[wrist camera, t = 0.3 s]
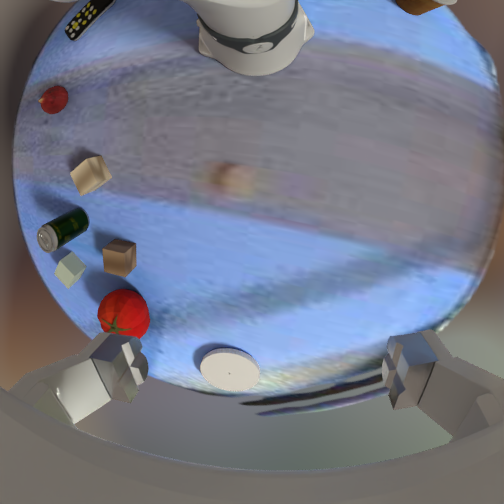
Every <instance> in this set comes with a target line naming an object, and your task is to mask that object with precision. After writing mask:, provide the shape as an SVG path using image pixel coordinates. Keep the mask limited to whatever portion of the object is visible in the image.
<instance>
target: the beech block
mask: <svg viewBox="0 0 504 504" xmlns="http://www.w3.org/2000/svg"><path fill="white" fill-rule="evenodd" d="M70 174H71V176H72V179H73V181H74V183H75V185H76V187H77V189H78V191H79V193H80V195H81V196H82V195H84V194H87V193H89V192H92V191H94V190H96V189H98V188H99V187H100V186H101V185H103V184H104V183H105V182H107V181H108V180H109V179H111V178H112V176H111V174H110V172H109V170H108V168H107V166H106V164H105V162H104V160H103V158H102V156H97V157H92V158H88V159H85V160H84V161H83V162H82V163H81V164H80V165H79V166H78V167H76V168H75V169H74V170H73V171H72V172H71V173H70Z"/></svg>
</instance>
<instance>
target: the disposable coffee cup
mask: <svg viewBox="0 0 504 504" xmlns="http://www.w3.org/2000/svg"><path fill="white" fill-rule="evenodd" d="M396 2H397V4H398V5H399V6H400V7H401V8H402V9H403V10H404V11H406V12H407V13H409V14H412V15H421V14H423V13H426V12H428V11H430V10H433V9H435V8H438V7H441V6H443V5H451V4H454V3H456V2H457V0H396Z"/></svg>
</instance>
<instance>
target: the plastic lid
mask: <svg viewBox="0 0 504 504" xmlns="http://www.w3.org/2000/svg"><path fill="white" fill-rule="evenodd" d="M200 371H201V373H202V376H203V377H204V378H205V380H206V381H208V382H209V383H210V384H212V385H214V386H216V387H218V388H220V389H223V390H228V391H243V390H248V389H250V388H251V387H253V386H255V385H256V383H257V382H258V381H259V378H260V367H259V365H258V363H257V361H256V360H254V358H253V357H251V356H250V355H249V354H246V353H244V352H242V351H239V350H236V349H230V348H229V349H228V348H223V349H222V348H221V349H216V350H213V351H211V352H208V353H207V354H206V355H205V356H204V357H203V359H202V362H201V365H200Z"/></svg>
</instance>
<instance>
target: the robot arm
mask: <svg viewBox="0 0 504 504" xmlns="http://www.w3.org/2000/svg"><path fill="white" fill-rule="evenodd" d="M50 1H56V2H65V3H66V2H74V1H77V0H50ZM180 1H183V2H185V3H187V4H188V5H189V6H190V7H191V8H193V9H194V10H195V11H196V12H197V15H198V18H199V19H197V26H198V27H200V29H199V51H200V53H201V54H202V55H204V56H207V57H210V58H214V59H216V60H218V61H219V62H221V63H222V64H223V65H224V66H225V67H227V68H228V69H230V70H232V71H234V72H237V73H239V74H243V75H249V76H262V75H268V74H272V73H275V72H277V71H280V70H281V69H283V68H285V67H286V66H288V65H289V64H290V63H291V62H292V61H293V60H294V59H295V57H296V56H297V54H298V53H299V50H300V48H301V47H302V45H303V44H304V43H305V42H307V41H308V40H309V39H311V38H312V37H313V35H314V28H313V26H312V24H311V23H310V21H309V19H308V17H307V16H306V14H305V12H304V10H303V9H302V7H301V5H300V4H299V2H298V0H180ZM141 349H142V344H141V342H140V339H139V338H137V337H135V336H128V335H121V334H113V333H107V332H101V333H99V334H98V335H97V336H96V337H95V338H94V339H93V340H92V341H91V342H90V343H89V344H88V345H87V346H86V347H85V348H84V349H83V350H82V351H81V352H80V353H79V354H78V355H72V356H70V357H67V358H65V359H62V360H60V361H57V362H55V363H52V364H50V365H47V366H45V367H42V368H40V369H37V370H34V371H32V372H29V373H27V374H25V375H24V376H23V377H22V378H21V379H20V380H19V381H18V382H17V383H16V384H15V385H14V386H13V387H12V388H11V389H10V390H9V391H6V390H5V389H3V388H1V387H0V504H504V379H503V378H501V377H498V376H496V375H494V374H492V373H490V372H488V371H486V370H483V369H481V368H479V367H477V366H475V365H473V364H470V363H468V362H467V361H464V360H462V359H460V358H458V357H455V358H453V357H452V355H451V354H450V352H449V351H448V350H447V348H446V347H445V346H444V344H443V343H442V341H441V340H440V339H439V337H438V336H437V334H436V333H435V332H434V331H433V330H426V331H420V332H417V333H411V334H404V335H396V336H390V337H389V339H388V342H387V349H388V352H389V353H388V354H387V355H386V356H385V357H384V360H383V365H382V376H383V381H384V384H385V386H386V387H388V388H389V389H390V392H389V395H388V396H389V398H390V401H391V404H392V407H393V410H396V409H402V408H408V407H413V406H418V408H419V409H421V410H422V411H423V412H424V413H426V414H427V415H428V416H429V417H430V418H431V419H433V420H434V421H435V422H436V423H437V424H439V425H440V426H441V427H442V428H444V429H445V430H446V431H447V432H448V433H450V434H451V435H452V436H453V437H452V439H451V440H450V441H449V443H448V444H445V445H442V446H439V447H436V448H432V449H429V450H426V451H422V452H419V453H415V454H412V455H408V456H403V457H399V458H395V459H390V460H385V461H380V462H375V463H370V464H363V465H356V466H349V467H341V468H330V469H319V470H318V469H317V470H296V471H295V470H294V471H272V470H271V471H270V470H249V469H236V468H226V467H217V466H210V465H203V464H197V463H191V462H186V461H180V460H176V459H170V458H166V457H162V456H158V455H154V454H150V453H146V452H142V451H139V450H135V449H132V448H129V447H125V446H122V445H119V444H116V443H113V442H110V441H108V440H105V439H102V438H99V437H97V436H94V435H92V434H89V433H87V432H84V431H82V430H79V429H77V428H76V426H75V425H74V424H75V423H76V422H78V421H80V420H81V419H83V418H84V417H86V416H87V415H89V414H90V413H92V412H93V411H95V410H96V409H98V408H99V407H101V406H103V405H104V404H105V403H107V402H109V401H110V400H111V399H115V400H119V401H124V402H128V403H131V402H132V400H133V399H134V397H135V396H136V394H137V392H138V391H139V390H138V385H139V384H141V383H143V382H144V381H145V379H146V377H147V374H148V362H147V359H146V357H145V356H144V355H143V354H142V353H141Z"/></svg>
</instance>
